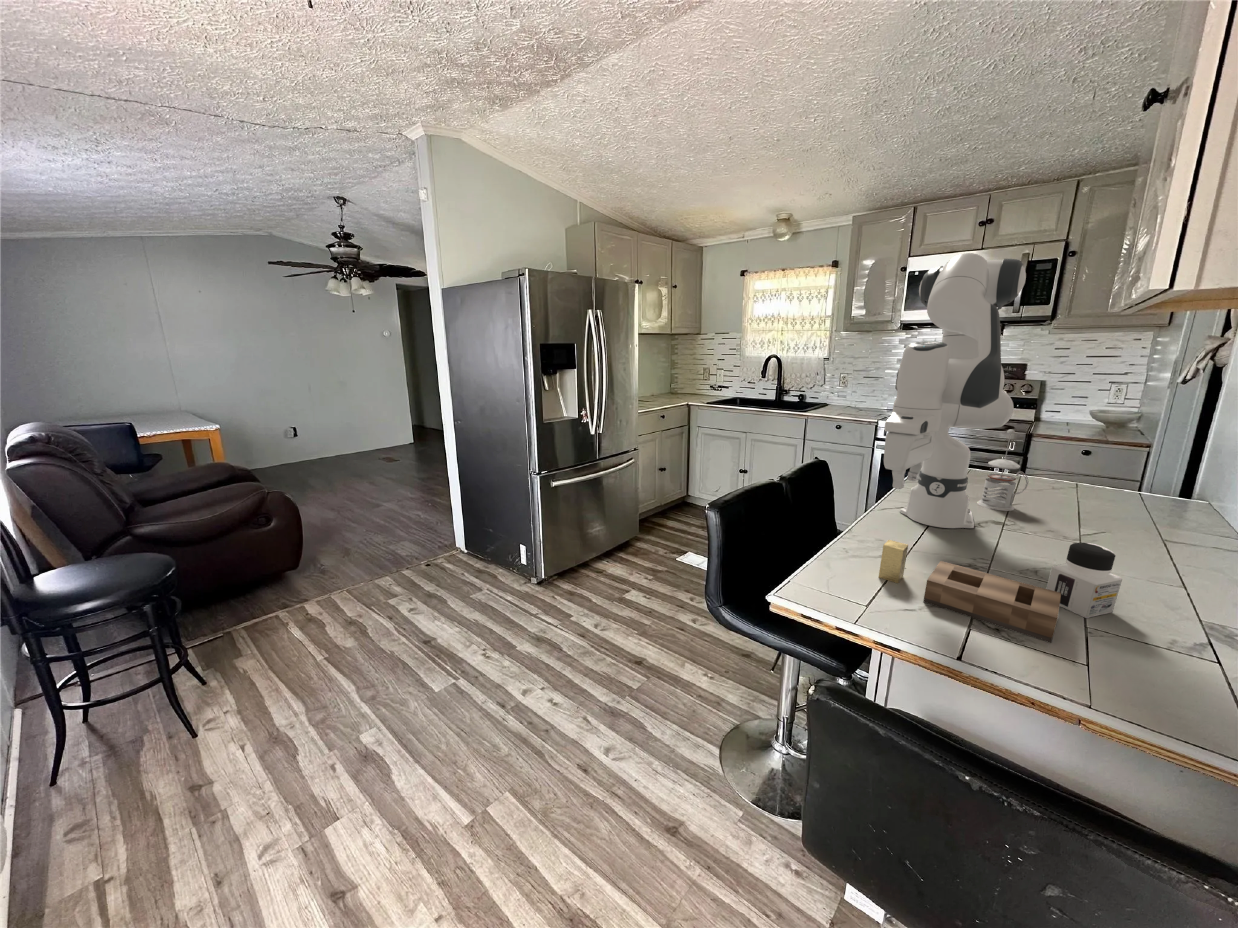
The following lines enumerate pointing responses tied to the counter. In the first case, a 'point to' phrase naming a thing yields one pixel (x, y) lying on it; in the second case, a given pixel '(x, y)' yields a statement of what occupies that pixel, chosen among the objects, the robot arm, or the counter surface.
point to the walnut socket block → (994, 600)
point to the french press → (1001, 485)
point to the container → (1086, 580)
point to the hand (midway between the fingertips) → (905, 484)
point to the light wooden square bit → (893, 561)
